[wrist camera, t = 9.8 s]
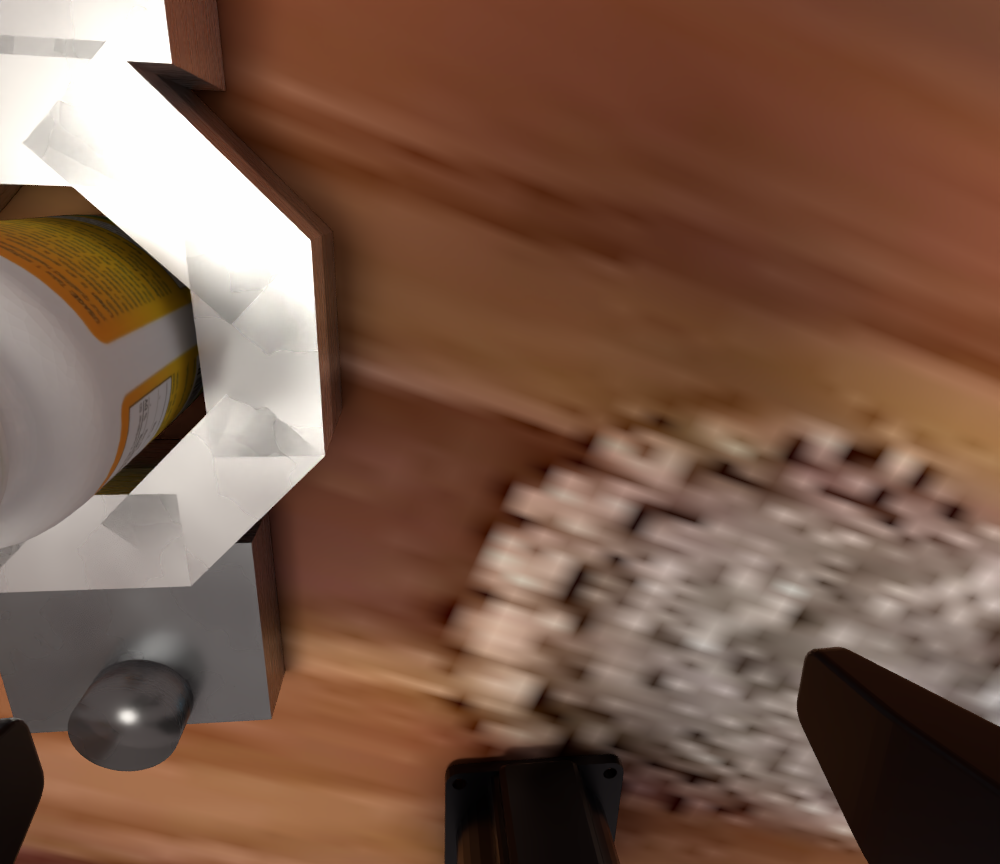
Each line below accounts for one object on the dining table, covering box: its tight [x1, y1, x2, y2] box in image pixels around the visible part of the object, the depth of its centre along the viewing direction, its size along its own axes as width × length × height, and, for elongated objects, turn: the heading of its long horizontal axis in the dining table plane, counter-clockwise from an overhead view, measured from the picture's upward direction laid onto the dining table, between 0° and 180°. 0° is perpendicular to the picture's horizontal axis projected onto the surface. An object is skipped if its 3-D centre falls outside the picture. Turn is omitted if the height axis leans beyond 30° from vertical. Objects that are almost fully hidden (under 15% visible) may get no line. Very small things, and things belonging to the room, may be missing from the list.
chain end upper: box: [0, 0, 333, 593], centre depth 14 cm, size 18×12×4 cm, turn 178°
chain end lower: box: [0, 75, 342, 771], centre depth 16 cm, size 18×12×3 cm, turn 178°
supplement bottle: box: [0, 215, 203, 549], centre depth 12 cm, size 5×5×10 cm
